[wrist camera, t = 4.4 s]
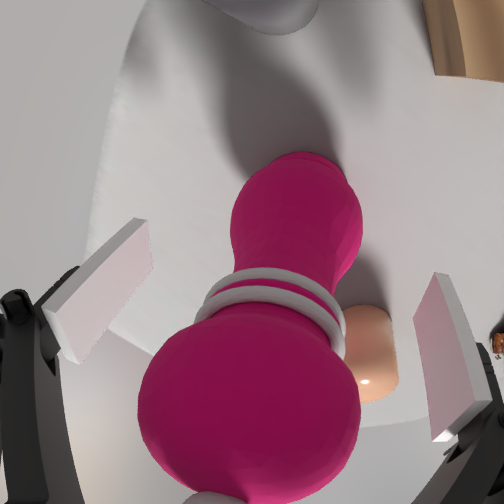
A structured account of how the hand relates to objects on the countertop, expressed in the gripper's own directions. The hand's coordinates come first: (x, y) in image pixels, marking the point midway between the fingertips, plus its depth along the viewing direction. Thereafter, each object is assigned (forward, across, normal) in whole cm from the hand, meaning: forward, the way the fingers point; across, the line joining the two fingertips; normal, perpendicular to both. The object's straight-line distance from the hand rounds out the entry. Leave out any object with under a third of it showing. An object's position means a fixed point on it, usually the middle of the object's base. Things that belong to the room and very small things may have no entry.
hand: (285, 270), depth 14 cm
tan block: (+9, -9, -13) cm, 18 cm away
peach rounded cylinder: (+9, -7, +11) cm, 16 cm away
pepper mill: (+9, 0, 0) cm, 9 cm away
